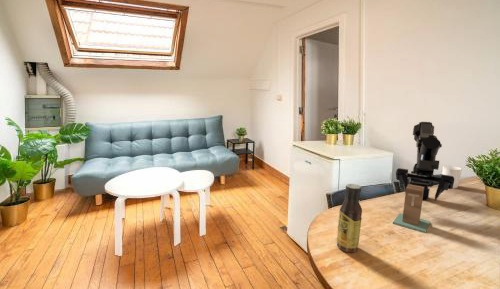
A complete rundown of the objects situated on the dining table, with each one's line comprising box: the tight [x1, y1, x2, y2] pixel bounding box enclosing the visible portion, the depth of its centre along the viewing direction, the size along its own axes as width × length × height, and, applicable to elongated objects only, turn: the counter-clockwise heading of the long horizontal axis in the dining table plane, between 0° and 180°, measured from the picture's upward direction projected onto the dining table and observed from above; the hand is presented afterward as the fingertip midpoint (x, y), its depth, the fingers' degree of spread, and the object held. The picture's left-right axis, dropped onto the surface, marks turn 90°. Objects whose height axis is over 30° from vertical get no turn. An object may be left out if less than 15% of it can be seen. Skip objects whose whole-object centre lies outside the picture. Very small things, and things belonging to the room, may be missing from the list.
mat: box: [392, 212, 431, 234], centre depth 96 cm, size 10×10×1 cm
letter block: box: [402, 183, 424, 226], centre depth 95 cm, size 5×5×13 cm
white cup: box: [441, 165, 463, 189], centre depth 137 cm, size 8×8×10 cm
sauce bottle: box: [336, 183, 363, 253], centre depth 78 cm, size 6×6×20 cm
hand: (420, 197), depth 99 cm, fingers open, 9 cm apart
